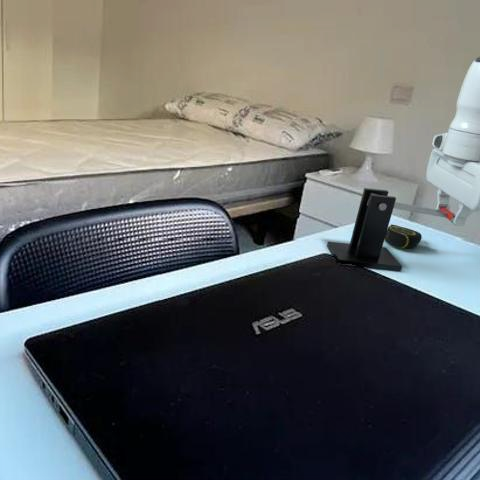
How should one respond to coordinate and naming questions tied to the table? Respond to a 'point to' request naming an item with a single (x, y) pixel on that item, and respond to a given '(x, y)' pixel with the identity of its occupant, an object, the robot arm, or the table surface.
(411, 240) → the tape measure
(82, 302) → the table surface
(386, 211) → the bracket
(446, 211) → the lever
